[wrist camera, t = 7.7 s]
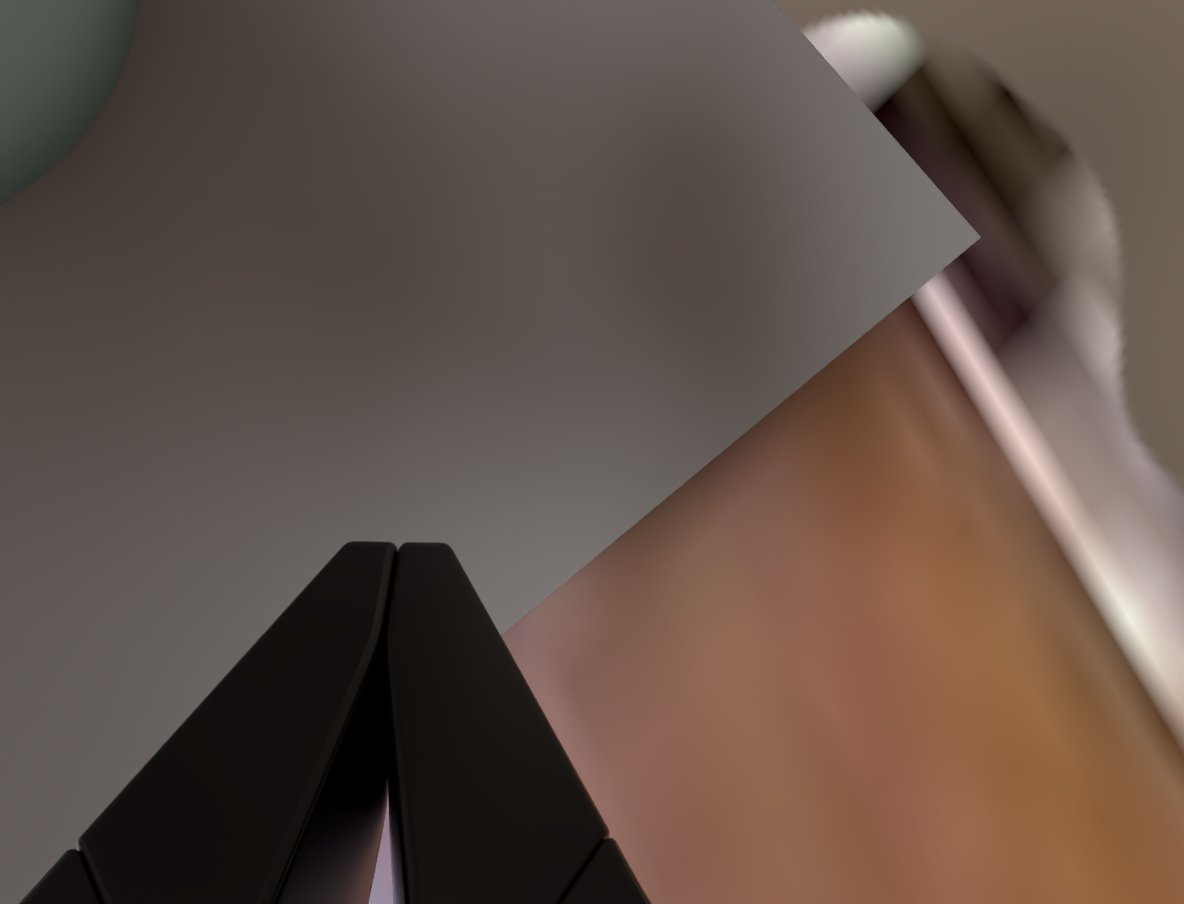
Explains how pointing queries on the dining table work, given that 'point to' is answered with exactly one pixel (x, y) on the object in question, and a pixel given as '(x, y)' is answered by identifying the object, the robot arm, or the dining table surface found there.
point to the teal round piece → (54, 79)
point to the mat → (397, 325)
